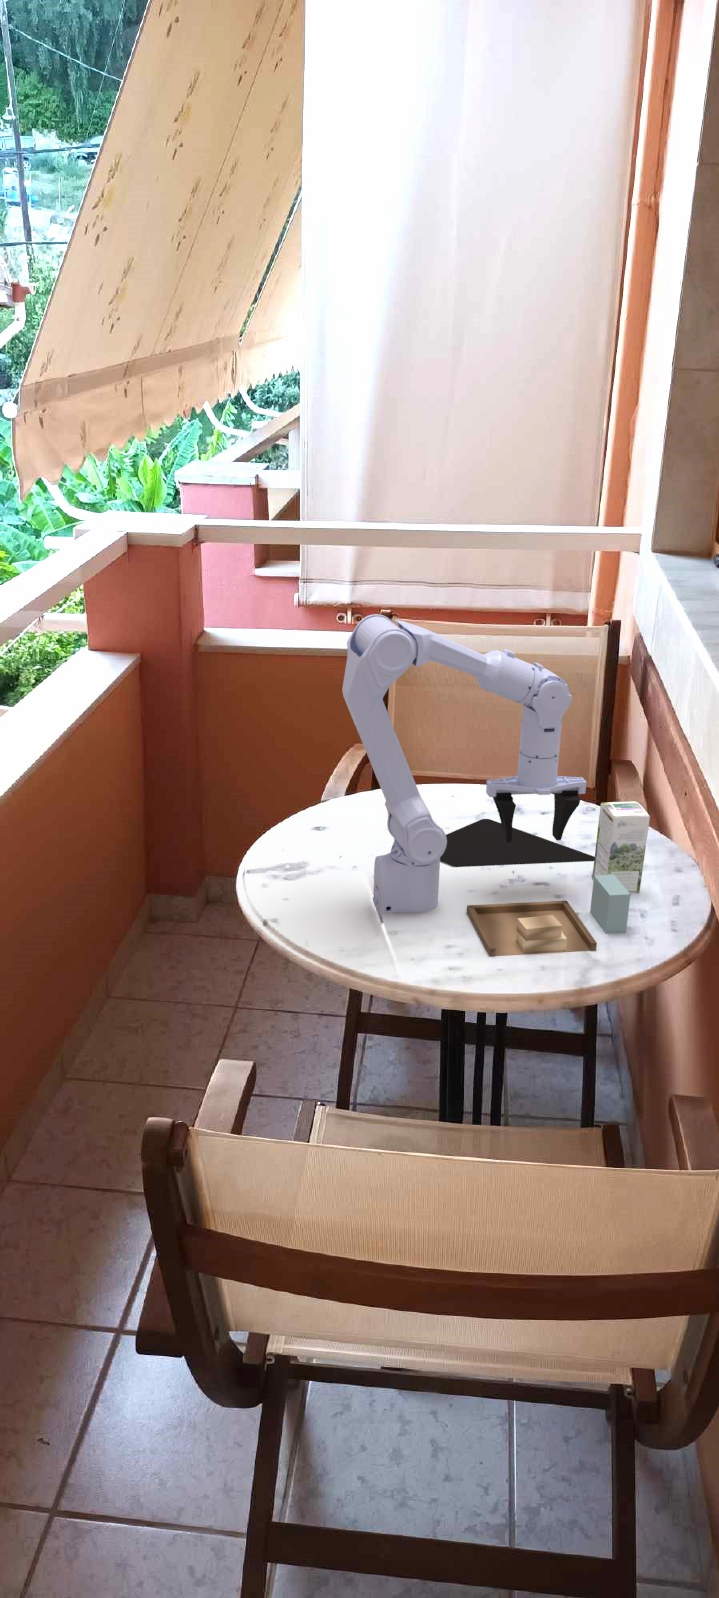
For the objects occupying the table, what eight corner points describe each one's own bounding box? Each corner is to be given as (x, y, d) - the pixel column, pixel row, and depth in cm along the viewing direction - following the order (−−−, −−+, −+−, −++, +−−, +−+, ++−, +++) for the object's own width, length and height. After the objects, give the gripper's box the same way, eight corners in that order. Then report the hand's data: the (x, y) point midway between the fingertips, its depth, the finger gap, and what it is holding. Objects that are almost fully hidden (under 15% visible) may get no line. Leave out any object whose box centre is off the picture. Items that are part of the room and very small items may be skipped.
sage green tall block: (604, 940, 161) (609, 895, 159) (589, 918, 167) (594, 875, 165) (625, 939, 162) (630, 894, 159) (609, 917, 168) (613, 874, 165)
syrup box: (625, 885, 179) (635, 799, 174) (639, 902, 174) (650, 813, 168) (590, 887, 178) (599, 800, 173) (603, 904, 173) (613, 815, 168)
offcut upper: (525, 941, 154) (526, 929, 154) (516, 930, 157) (517, 918, 157) (561, 937, 156) (562, 925, 155) (551, 926, 159) (552, 914, 158)
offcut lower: (522, 952, 155) (523, 940, 154) (516, 940, 158) (517, 929, 158) (565, 950, 156) (566, 938, 155) (557, 938, 159) (558, 926, 158)
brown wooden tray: (488, 965, 155) (489, 948, 154) (465, 921, 167) (467, 905, 166) (595, 959, 157) (596, 943, 156) (565, 916, 169) (566, 900, 168)
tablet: (410, 849, 190) (484, 817, 203) (410, 853, 190) (484, 820, 204) (545, 903, 173) (616, 864, 186) (545, 907, 173) (616, 868, 187)
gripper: (497, 763, 161) (491, 851, 166) (596, 760, 163) (587, 847, 168) (485, 746, 167) (479, 832, 172) (580, 744, 169) (572, 828, 174)
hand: (531, 838), depth 170 cm, fingers open, 7 cm apart
